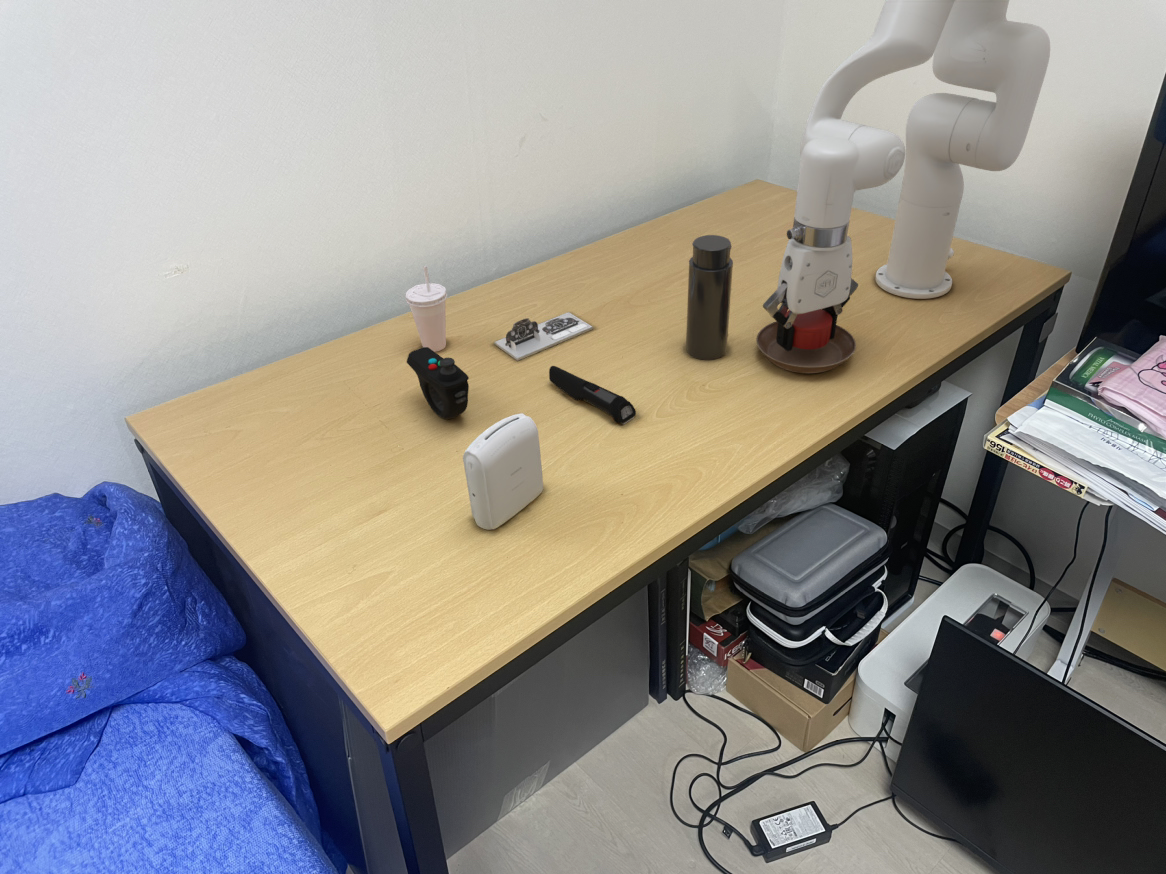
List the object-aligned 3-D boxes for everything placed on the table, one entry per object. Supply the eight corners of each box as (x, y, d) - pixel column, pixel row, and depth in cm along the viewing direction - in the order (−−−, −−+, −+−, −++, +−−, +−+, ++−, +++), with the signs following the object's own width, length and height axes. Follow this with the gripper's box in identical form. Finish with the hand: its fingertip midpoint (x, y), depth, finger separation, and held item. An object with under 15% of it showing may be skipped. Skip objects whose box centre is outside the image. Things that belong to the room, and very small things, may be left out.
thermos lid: (832, 350, 129) (835, 329, 127) (783, 349, 130) (786, 328, 128) (826, 326, 135) (829, 306, 133) (780, 325, 135) (782, 305, 133)
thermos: (703, 334, 141) (709, 229, 130) (735, 348, 137) (743, 241, 126) (677, 350, 137) (680, 243, 126) (708, 364, 133) (715, 256, 123)
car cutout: (517, 360, 136) (515, 335, 134) (494, 344, 141) (491, 319, 138) (592, 329, 143) (592, 304, 141) (568, 314, 148) (567, 290, 145)
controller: (453, 435, 121) (443, 375, 115) (410, 398, 129) (399, 339, 123) (479, 423, 123) (471, 363, 117) (435, 387, 131) (425, 329, 125)
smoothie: (447, 357, 138) (434, 277, 130) (408, 354, 139) (394, 274, 131) (459, 337, 143) (448, 258, 135) (422, 334, 144) (409, 256, 136)
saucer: (736, 361, 134) (738, 345, 132) (785, 322, 143) (787, 308, 141) (824, 393, 126) (827, 377, 124) (870, 350, 135) (873, 335, 133)
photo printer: (492, 536, 104) (480, 455, 97) (467, 521, 107) (454, 441, 99) (549, 492, 111) (542, 412, 103) (524, 479, 113) (516, 400, 106)
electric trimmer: (562, 377, 132) (560, 359, 131) (638, 415, 123) (637, 397, 121) (544, 387, 130) (542, 369, 128) (619, 427, 121) (619, 408, 119)
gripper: (783, 253, 117) (770, 366, 127) (887, 228, 122) (867, 338, 133) (752, 233, 122) (742, 343, 133) (853, 210, 127) (836, 317, 138)
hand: (805, 340), depth 133 cm, fingers closed on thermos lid, 7 cm apart
